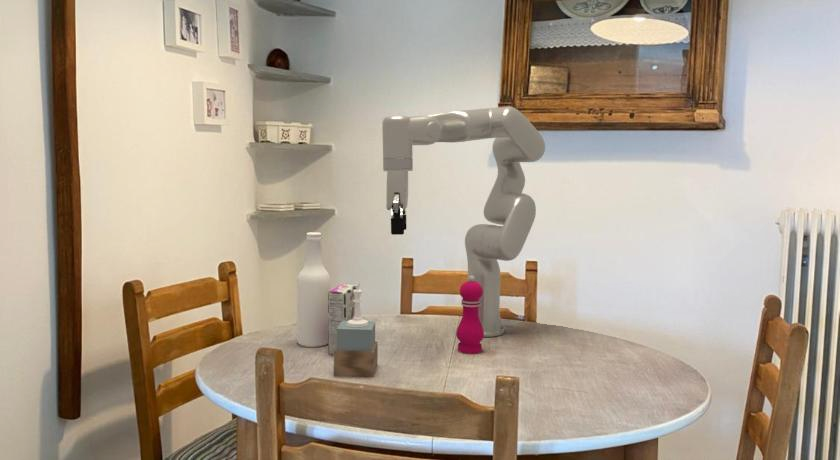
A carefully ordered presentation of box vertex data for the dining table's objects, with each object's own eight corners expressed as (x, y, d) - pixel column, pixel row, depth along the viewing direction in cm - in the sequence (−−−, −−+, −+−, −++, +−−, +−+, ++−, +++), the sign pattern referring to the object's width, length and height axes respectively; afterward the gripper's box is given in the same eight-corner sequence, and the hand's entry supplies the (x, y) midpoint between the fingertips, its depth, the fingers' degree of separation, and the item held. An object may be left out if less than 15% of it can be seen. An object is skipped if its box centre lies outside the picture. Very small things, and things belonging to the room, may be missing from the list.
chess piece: (371, 323, 152) (371, 281, 151) (362, 327, 147) (362, 284, 146) (352, 321, 154) (352, 280, 153) (343, 326, 149) (343, 283, 148)
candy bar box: (341, 343, 175) (341, 283, 173) (358, 344, 174) (359, 284, 172) (327, 354, 164) (327, 291, 162) (345, 356, 163) (346, 292, 161)
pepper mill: (487, 349, 171) (489, 274, 169) (478, 356, 165) (480, 278, 163) (461, 345, 174) (463, 272, 172) (451, 352, 168) (453, 276, 166)
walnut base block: (377, 365, 156) (377, 341, 155) (373, 377, 147) (373, 352, 146) (340, 364, 156) (340, 340, 155) (333, 376, 147) (333, 351, 146)
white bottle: (309, 337, 180) (309, 230, 177) (336, 341, 176) (336, 232, 173) (290, 345, 172) (290, 233, 169) (318, 349, 168) (318, 235, 165)
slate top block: (375, 341, 155) (375, 321, 154) (371, 351, 147) (371, 329, 146) (341, 341, 155) (342, 320, 154) (336, 350, 147) (336, 328, 146)
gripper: (386, 164, 173) (387, 228, 175) (379, 166, 156) (381, 236, 158) (414, 164, 173) (415, 228, 175) (410, 165, 155) (411, 236, 157)
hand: (399, 231), depth 166 cm, fingers open, 9 cm apart
